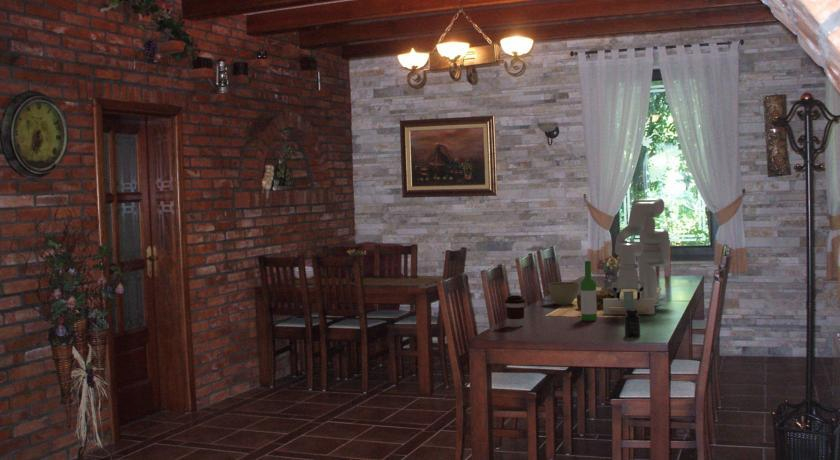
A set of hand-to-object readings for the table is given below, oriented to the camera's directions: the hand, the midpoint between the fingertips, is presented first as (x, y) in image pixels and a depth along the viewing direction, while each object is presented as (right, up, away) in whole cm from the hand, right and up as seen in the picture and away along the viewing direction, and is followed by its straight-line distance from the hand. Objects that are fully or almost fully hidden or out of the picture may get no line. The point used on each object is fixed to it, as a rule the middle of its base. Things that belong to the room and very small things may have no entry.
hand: (628, 300), depth 437 cm
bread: (-11, -7, +29) cm, 32 cm away
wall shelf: (+1, -8, +4) cm, 9 cm away
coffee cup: (-61, -11, -23) cm, 67 cm away
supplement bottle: (-13, -11, -60) cm, 63 cm away
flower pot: (-25, -7, +49) cm, 56 cm away
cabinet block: (0, -4, 0) cm, 4 cm away
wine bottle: (-23, -10, -12) cm, 28 cm away
